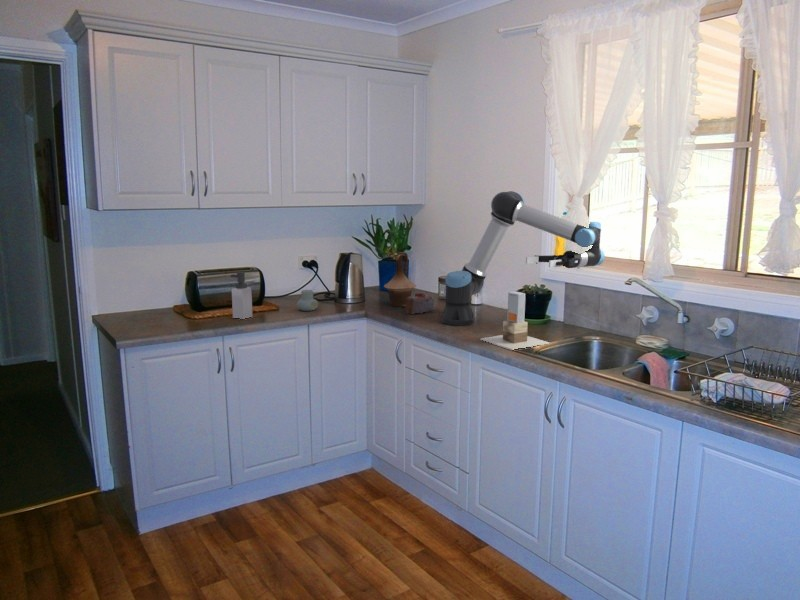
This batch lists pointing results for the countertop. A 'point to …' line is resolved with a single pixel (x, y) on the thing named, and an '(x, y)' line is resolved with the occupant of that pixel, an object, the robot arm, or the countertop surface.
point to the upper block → (515, 327)
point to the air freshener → (307, 301)
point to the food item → (419, 303)
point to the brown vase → (399, 282)
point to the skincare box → (516, 307)
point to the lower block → (515, 337)
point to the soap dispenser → (241, 298)
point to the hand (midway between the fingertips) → (537, 262)
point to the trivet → (511, 346)
